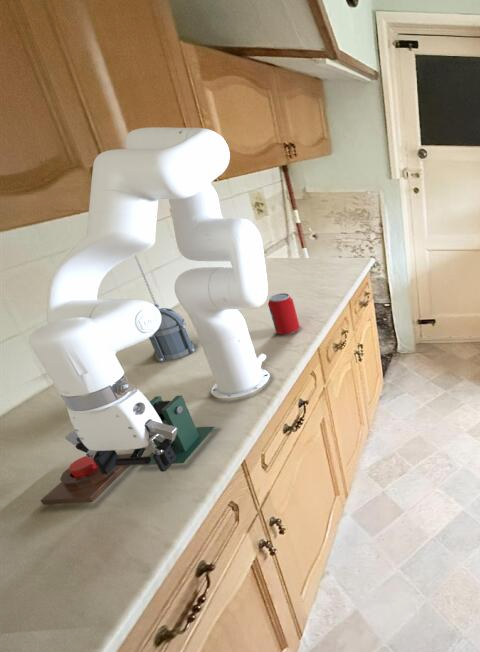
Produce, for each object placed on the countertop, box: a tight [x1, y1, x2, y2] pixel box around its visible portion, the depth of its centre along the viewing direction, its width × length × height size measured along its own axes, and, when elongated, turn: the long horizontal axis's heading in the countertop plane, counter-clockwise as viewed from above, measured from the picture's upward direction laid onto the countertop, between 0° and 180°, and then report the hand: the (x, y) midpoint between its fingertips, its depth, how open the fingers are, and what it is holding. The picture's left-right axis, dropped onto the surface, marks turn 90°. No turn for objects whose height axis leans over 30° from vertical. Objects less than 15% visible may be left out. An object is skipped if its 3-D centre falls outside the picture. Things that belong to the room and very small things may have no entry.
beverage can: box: [267, 292, 300, 336], centre depth 124 cm, size 7×7×12 cm
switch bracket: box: [143, 395, 216, 466], centre depth 79 cm, size 10×8×12 cm
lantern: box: [134, 255, 196, 363], centre depth 108 cm, size 11×11×30 cm
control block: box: [39, 453, 132, 506], centre depth 73 cm, size 10×8×4 cm
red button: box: [68, 455, 98, 477], centre depth 72 cm, size 4×4×2 cm
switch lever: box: [115, 400, 171, 466], centre depth 74 cm, size 12×5×2 cm, turn 5°
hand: (140, 466), depth 72 cm, fingers open, 9 cm apart
